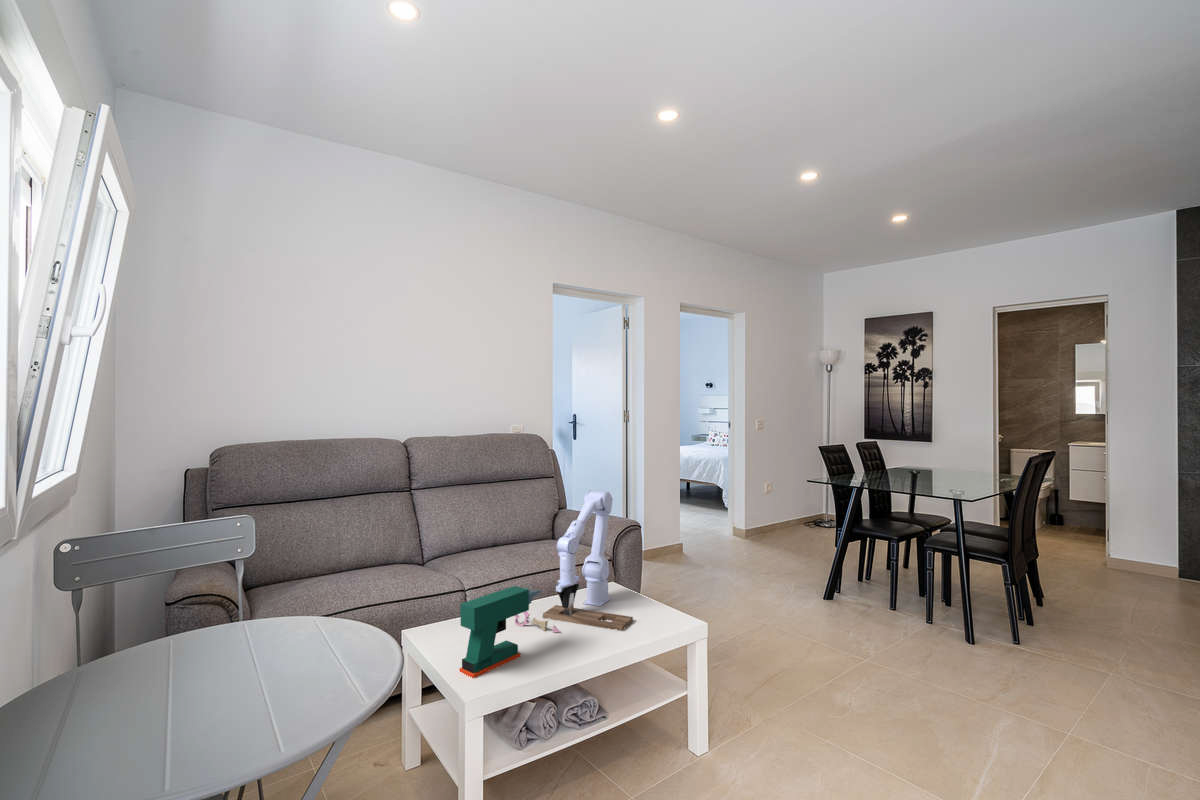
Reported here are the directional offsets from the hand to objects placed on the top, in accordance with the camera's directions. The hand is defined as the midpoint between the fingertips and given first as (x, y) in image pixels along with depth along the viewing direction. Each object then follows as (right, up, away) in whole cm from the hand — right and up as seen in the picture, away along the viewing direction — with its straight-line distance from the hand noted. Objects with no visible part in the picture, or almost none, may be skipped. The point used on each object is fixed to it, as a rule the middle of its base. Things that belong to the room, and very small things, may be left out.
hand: (568, 605), depth 213 cm
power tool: (-17, -4, -34) cm, 38 cm away
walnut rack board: (+7, -4, -3) cm, 9 cm away
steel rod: (0, -3, 0) cm, 3 cm away
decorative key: (-10, -4, -12) cm, 16 cm away
